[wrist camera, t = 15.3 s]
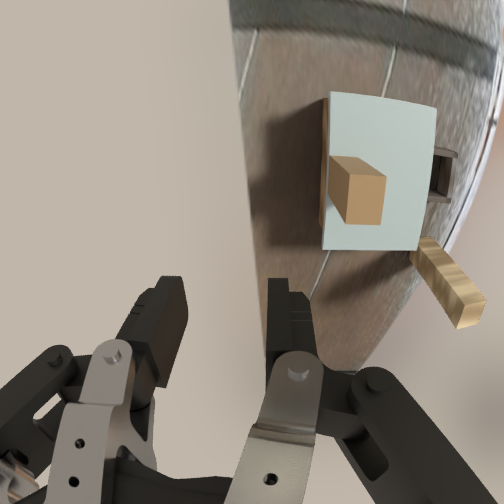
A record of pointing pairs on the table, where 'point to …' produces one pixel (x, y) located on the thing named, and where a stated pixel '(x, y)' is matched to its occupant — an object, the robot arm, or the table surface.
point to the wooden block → (448, 283)
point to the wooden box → (440, 195)
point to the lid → (376, 172)
